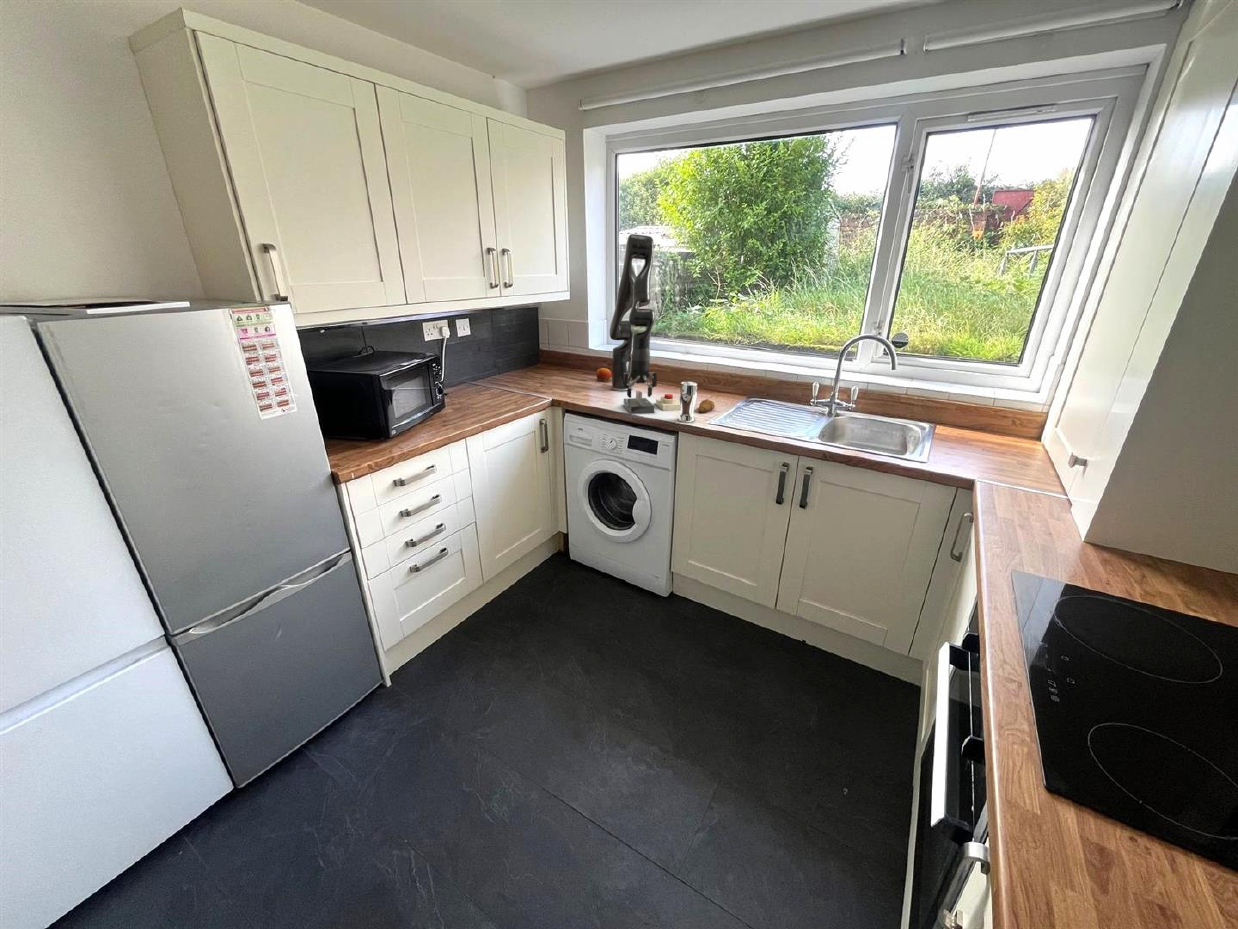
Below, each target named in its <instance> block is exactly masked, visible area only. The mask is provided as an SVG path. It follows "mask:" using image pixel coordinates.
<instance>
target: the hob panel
mask: <svg viewBox="0 0 1238 929" xmlns="http://www.w3.org/2000/svg"><path fill="white" fill-rule="evenodd" d="M623 406H624V408H625V409H626V410H627V411H628V412H629V413H630V414H632V415H634V414H654V413H655V405H654V404H653V403H652V402H651V401H650V400H648V399H647V397H642V403H640V404H639V403H638V402H637V401H636V397H631V398H623Z"/></svg>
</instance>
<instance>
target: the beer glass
mask: <svg viewBox="0 0 1238 929" xmlns="http://www.w3.org/2000/svg"><path fill="white" fill-rule="evenodd" d="M678 397H679V398H678V399H679V404H680V411H679V416H678V420H679V422H680V421H681V422H683V423H692V422H694V421H695V415H694V412H695V407H696V403H697V399H698V398H697V397H698V383H697V382H695V381H681V382H680V386H679V396H678Z"/></svg>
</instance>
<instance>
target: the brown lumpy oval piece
mask: <svg viewBox="0 0 1238 929" xmlns="http://www.w3.org/2000/svg"><path fill="white" fill-rule="evenodd" d="M715 407H716V405H715V402H714V401H713V400H711V399H709V398H706V399H704V400H702V401H700V403H699V405H698V410H699V413H701V414H702V413H703V414H704V413H708V412H710V411H712V410H713V409H714V408H715Z"/></svg>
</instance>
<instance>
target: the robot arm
mask: <svg viewBox="0 0 1238 929" xmlns="http://www.w3.org/2000/svg"><path fill="white" fill-rule="evenodd" d="M654 243H655V242H654V238H653V237H652V236H649V235H644V234H636V233H630V234H629V235H628V237H627V239H626V244H625V250H624V251H625V252H624V258H623V266H622V271H621V275H620V276H621V277H620V280H619V285H618V290H617V295H616V301H615V307H614V311H613V315H612V317H611V321H610V326H609V338H610V339H611V340H612V341H622V343H621V344H619V345H617V346H615V347H613V349H612V361H611V362H612V368H611V370H612V371H611V373H612V374H611V379H612V380H611V390H613V391H617V392H626V396H627V397H628V399H632V388H633V386H634V385H635V384H646V386H647V397H648V398H651V396H653V388H656V387H657V383H658V382H657V381H658V380H657V372H655V371H652V372H650V362H651V361H650V360H651V349H650V346H651V335H652V330H653V327H654V324H655V320H656V313H655V311H654V310H653V309H652V308H644V307H646V306H649V305H650V303H651V277H652V269H653V261H654V259H653V258H654V251H655V250H654V249H655V247H654V246H655V244H654ZM633 259H634V260H635V259H636V260H642V261H643V260H644V263H643V266H642V268H641V270H640V272H639V273H638V275H637V274H636V272H635V269H634V266H633ZM642 307H643V308H642ZM628 312H629V314H628V315H629V316H628V320H627V319H626V320H625V319H624V317H625V315H626V314H627V313H628ZM623 319H624V320H623ZM634 327H636V328H638V327H639V328H642V327H643V328H645V329H644V330H642V331H639V332H635V333H634ZM650 377H651V382H652V383H651V382H650V380H649V378H650Z"/></svg>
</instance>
